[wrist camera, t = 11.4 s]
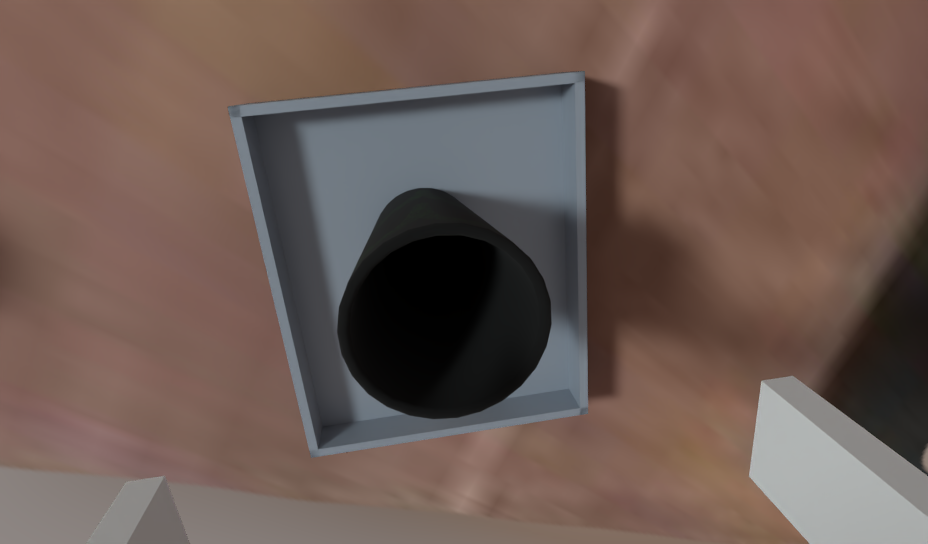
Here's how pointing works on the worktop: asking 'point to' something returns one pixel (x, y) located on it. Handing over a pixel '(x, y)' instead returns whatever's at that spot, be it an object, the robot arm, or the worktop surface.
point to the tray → (377, 183)
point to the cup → (441, 310)
